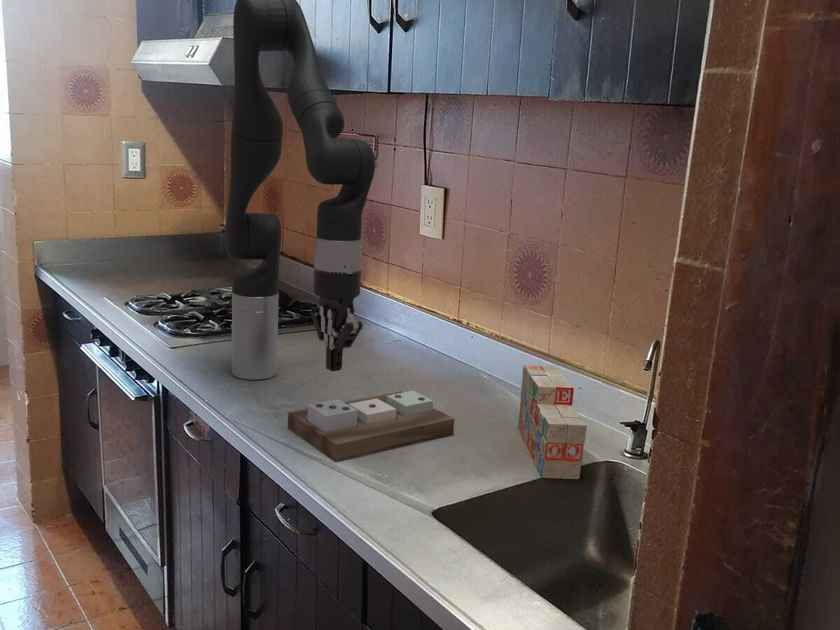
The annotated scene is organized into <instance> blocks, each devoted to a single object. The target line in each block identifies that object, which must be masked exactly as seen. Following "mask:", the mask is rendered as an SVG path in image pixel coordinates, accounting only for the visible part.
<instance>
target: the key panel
mask: <svg viewBox="0 0 840 630" xmlns="http://www.w3.org/2000/svg"><path fill="white" fill-rule="evenodd" d="M398 393H404V392H403V391H397V392H396V391H395V392H391V393H384V394H380V395H379V394H378V395H373V396H369V397H364V398H357V399H352V400H346V401H343V402H344V403H346V404H350V403H355V402H361V401H366V400H372V399H379V400H381V401H383V402H384V403H386V396H388V395H393V394H398ZM307 418H308V408H303V409H297V410H292V411H288V412H287V429H288V430H289V431H291V432H292V433H293V434H295V435H296V436H298V437H299V438H300V439H302V440H303V441H305V442H306V443H308V444H309V445H310V446H312V447H314V448H315V449H316V450H317V451H319V452H321V453H322V454H323V455H325V456H326V457H328V458H329V459H330V460H331V461H333V462H334V463H338V462H342V461H346V460H351V459H355V458H359V457H363V456H368V455H371V454H376V453H380V452H386V451H389V450H394V449H398V448H402V447H406V446H409V445H414V444H419V443H424V442H428V441H433V440H436V439H440V438H445V437H450V436H454V433H455V431H454V429H455V418H454V417H452V416H450V415H448V414H447V413H444V412H442V411H441V410H439V409H437V408H435V407H433V411H431V412H426V413H422V414H417V415H412V416H407V417H404V416H402V415H401V414H399V413H397V412H396V419H393V420H388V421H383V422H378V423H373V424H368V425H366V424H364V423H362V422H361V421H359V420H357V427H354V428H349V429H344V430H339V431H335V432H330V433H323V432H322V431H320V430H319V429H317V428H316V427H314V426H313V425H311V424H310V423H308V422H307Z"/></svg>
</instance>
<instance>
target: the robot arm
mask: <svg viewBox="0 0 840 630" xmlns="http://www.w3.org/2000/svg"><path fill="white" fill-rule="evenodd" d="M233 9H234V10H233V18H232V20H233V21H232V25H233V27H232V28H233V29H232V31H233V32H232V33H233V37H232V38H233V64H234V65H233V68H234V85H233V86H234V87H233V104H232V120H231V131H230V132H231V133H230V136H231V137H230V176H229V177H230V178H229V190H228V191H229V193H228V201H227V209H226V218H225V230H224V246H225V247H224V248H225V251H226V254H227V256H228V257H229V258H230V259H234V260H262V262H261V263H260V264H259V265H258V266H257V267H255V268H254V269H251V270H249V271H248V272H244V273H242V274H240V275H237V276H235V277H234V278H233V279H232V283H231V309H232V310H231V375H232V376H233V377H236V378H239V379H242V380H251V381H252V380H257V381H258V380H266V379H270V378H273V377H275V376H276V375H277V373H278V343H279V341H278V336H279V335H278V334H279V332H278V330H279V293H280V292H279V289H280V287H279V284H280V283H279V282H280V281H279V280H280V260H281V247H282V224H281V220H280V218H279V216H278V215H277V214H275V213H271V212H270V213H269V212H268V213H266V212H265V213H263V212H247V208H248V206H249V204H250V201H251V199H252V197H253V196H254V194H255V192H256V191H258V189H259V187H260V186H261V185H262V184H263V183H264V182H265V181H266V179H267V178H268V177H269V176H270V174H271V173H272V172H273V171H274V169H275V168H276V167H277V165H278V163H279V161H280V159H281V156H282V147H283V146H282V145H283V133H284V123H283V119H282V117H281V114H280V111H279V110H278V107H277V105H276V104H275V103H274V101H273V98H272V97H271V96H270V94H269V92H268V91H267V88H266V87H265V85H264V82H263V80H262V78H261V73H260V63H259V62H260V59H259V58H260V53H261V52H284V51H286V52H288V53H289V55H290V56H291V58H292V59H293V65H292V70H291V74H290V77H289V80H288V85H287V91H286V92H287V101H288V106H289V107H290V111H291V112H292V114H293V116H294V118H295V120H296V123H297V125H298V127H299V129H300V131H301V133H302V134H301V135H302V139H303V145H304V153H305V160H306V168H307V170H308V172H309V174H310V176H311V177H312V178H313V179H314V180H315V181H316V182H318V183H320V184H322V185H329V186H330V185H334V186H335V185H341V188H340V190H339V192H338V194H337V195H336V196H335V197H332V198H329V199H325V200H322V201H321V202H320V203H319V205H318V206H317V212H316V213H317V214H316V216H317V217H316V241H315V246H314V251H313V252H314V253H313V254H314V257H313V281H312V282H313V284H312V285H313V286H312V287H313V288H312V292H313V294H314V295H315V296H316V297H318V305H317V306H316V307H313V306H312V307H311V308H310V314H311V318H312V322H313V324H314V328H315V331H316V333H317V336H318V340H319V341H320V342H321V341H322V342H323V346H324V347H325V348H326V350H325V351H326V352H325V354H326V355H325V369H326V370H328V371H330V372H338V371H341V370H342V367H343V351H344V349H345V348H351V347H352V346H353V344H354V342H355V341H356V339H357V338H358V336H359V333H360V332H361V331H362V329H363V323H362V321H356V318H355V316H354V314H355V305H354V299H355V298H357V297H359V296H360V293H361V279H362V256H363V253H362V240H361V239H362V220H363V218H362V217H363V211H364V207H365V205H366V202H367V199H368V196H369V193H370V192H369V191H370V188H371V185H372V182H373V179H374V175H375V170H376V157H375V154H374V151H373V148H372V146H371V145H370V144H369V143H368V142H367V141H365V140H362V139H357V138H339V136H340V135H341V134H342V132H343V131H344V129H345V119H344V118H345V117H344V115H343V113H342V111H341V109H340V107H339V105H338V104H337V102H336V100H335V98H334V96H333V93H332V91H331V90H330V87H329V86H328V83H327V81H326V79H325V77H324V75H323V71H322V69H321V65H320V62H319V57H318V56H317V51H316V48H315V45H314V42H313V38H312V36H311V33H310V29H309V26H308V23H307V20H306V17H305V14H304V11H303V9H302V8H301V5H300V4H299V2H298V0H236V1H235V4H234V8H233Z"/></svg>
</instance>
